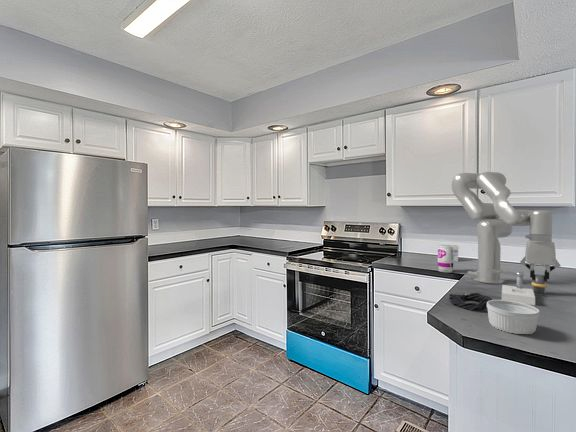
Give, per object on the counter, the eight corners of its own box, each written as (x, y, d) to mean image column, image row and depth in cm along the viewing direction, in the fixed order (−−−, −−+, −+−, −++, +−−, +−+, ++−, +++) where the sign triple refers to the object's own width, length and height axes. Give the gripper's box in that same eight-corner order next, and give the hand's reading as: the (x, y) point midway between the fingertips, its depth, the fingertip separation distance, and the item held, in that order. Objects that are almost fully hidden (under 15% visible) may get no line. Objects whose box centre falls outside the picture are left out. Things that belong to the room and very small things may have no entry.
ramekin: (547, 340, 86) (547, 315, 86) (492, 333, 91) (492, 309, 90) (529, 323, 98) (530, 302, 98) (482, 318, 103) (482, 297, 103)
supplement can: (444, 273, 175) (445, 247, 174) (434, 270, 183) (434, 245, 182) (456, 272, 177) (456, 246, 177) (445, 269, 185) (445, 244, 184)
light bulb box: (441, 260, 218) (441, 245, 217) (440, 259, 224) (441, 244, 224) (458, 261, 213) (458, 246, 213) (457, 260, 220) (457, 245, 219)
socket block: (501, 300, 123) (502, 280, 123) (502, 291, 136) (502, 273, 136) (535, 305, 117) (535, 284, 117) (532, 295, 130) (532, 276, 130)
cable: (494, 315, 107) (495, 302, 106) (449, 309, 113) (449, 297, 113) (487, 302, 122) (488, 291, 122) (448, 297, 128) (448, 287, 128)
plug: (531, 293, 133) (532, 275, 133) (530, 291, 137) (531, 273, 137) (547, 295, 130) (547, 277, 130) (546, 293, 134) (546, 275, 134)
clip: (489, 271, 140) (489, 267, 140) (523, 275, 131) (524, 271, 131) (488, 272, 138) (488, 268, 138) (523, 276, 129) (523, 272, 129)
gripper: (516, 237, 135) (515, 279, 135) (567, 240, 125) (566, 284, 126) (516, 236, 141) (515, 276, 142) (564, 238, 131) (563, 281, 132)
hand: (539, 279), depth 134 cm, fingers closed on plug, 3 cm apart
